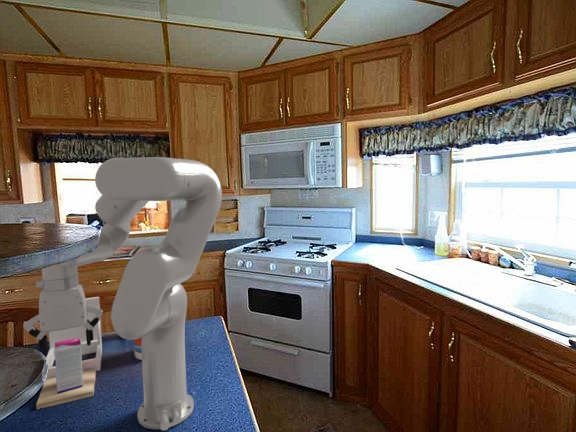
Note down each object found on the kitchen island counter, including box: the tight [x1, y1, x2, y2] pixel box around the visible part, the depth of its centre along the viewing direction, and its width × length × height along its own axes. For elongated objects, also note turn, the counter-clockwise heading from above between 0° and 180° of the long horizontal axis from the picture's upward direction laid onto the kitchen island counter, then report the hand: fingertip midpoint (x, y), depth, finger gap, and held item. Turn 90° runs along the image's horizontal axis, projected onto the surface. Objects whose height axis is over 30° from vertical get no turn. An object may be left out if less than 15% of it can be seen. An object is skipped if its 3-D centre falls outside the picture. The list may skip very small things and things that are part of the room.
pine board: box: [35, 369, 97, 410], centre depth 91 cm, size 12×12×1 cm
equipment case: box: [45, 296, 103, 379], centre depth 103 cm, size 16×14×18 cm
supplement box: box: [54, 338, 83, 394], centre depth 91 cm, size 6×6×12 cm
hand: (67, 347), depth 90 cm, fingers open, 9 cm apart
